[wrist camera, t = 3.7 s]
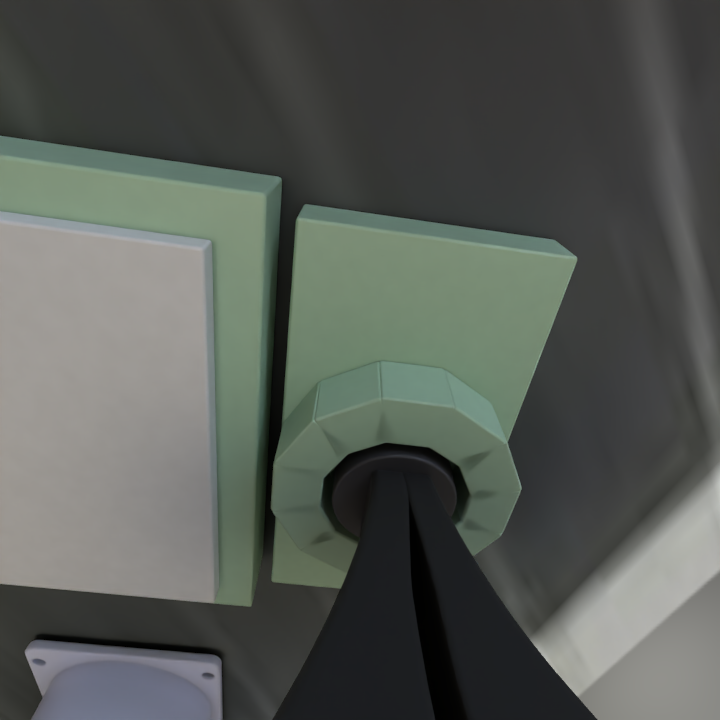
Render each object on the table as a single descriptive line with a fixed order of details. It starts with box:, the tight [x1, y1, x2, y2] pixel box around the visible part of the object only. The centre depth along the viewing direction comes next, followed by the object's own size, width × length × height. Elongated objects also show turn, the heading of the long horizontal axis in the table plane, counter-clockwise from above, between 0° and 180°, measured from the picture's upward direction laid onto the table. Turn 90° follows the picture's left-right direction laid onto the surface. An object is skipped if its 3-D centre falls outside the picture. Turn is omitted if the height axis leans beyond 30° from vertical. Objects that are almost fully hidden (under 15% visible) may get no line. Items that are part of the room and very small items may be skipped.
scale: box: [0, 136, 282, 607], centre depth 12 cm, size 13×13×3 cm
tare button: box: [332, 443, 457, 537], centre depth 12 cm, size 3×3×2 cm
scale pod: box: [271, 204, 577, 589], centre depth 13 cm, size 12×6×3 cm, turn 172°
